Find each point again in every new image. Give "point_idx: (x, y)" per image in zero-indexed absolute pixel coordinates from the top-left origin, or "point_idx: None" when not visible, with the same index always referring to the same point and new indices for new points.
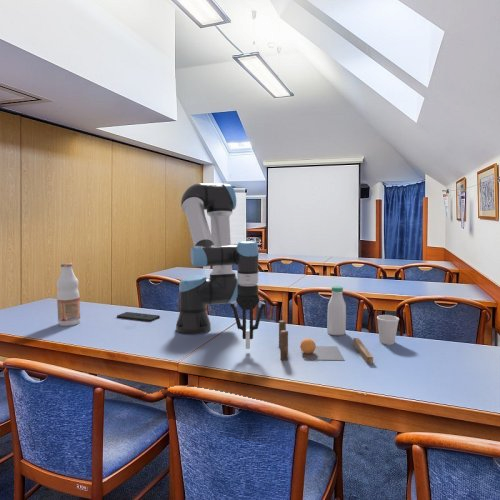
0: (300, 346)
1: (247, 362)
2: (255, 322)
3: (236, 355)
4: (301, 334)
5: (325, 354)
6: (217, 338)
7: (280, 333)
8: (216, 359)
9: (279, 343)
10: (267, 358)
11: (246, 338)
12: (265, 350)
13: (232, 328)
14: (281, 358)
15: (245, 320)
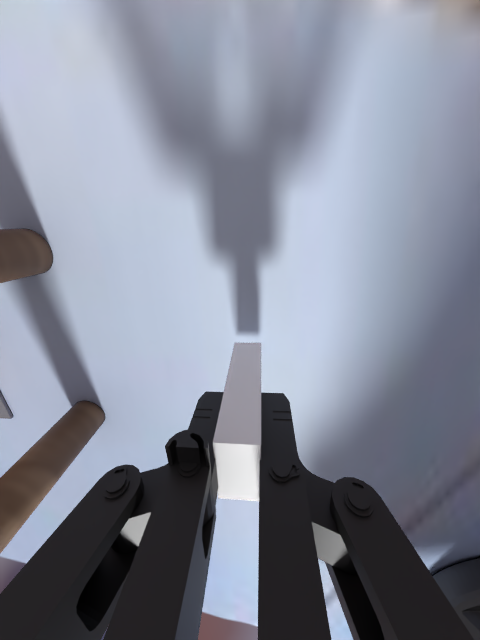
0: (8, 412)
1: (242, 178)
2: (115, 597)
3: (316, 301)
4: (51, 519)
5: None
6: (402, 508)
7: (30, 474)
8: (463, 223)
9: (86, 422)
10: (126, 259)
11: (253, 386)
12: (159, 373)
13: (324, 582)
14: (32, 236)
15: None
